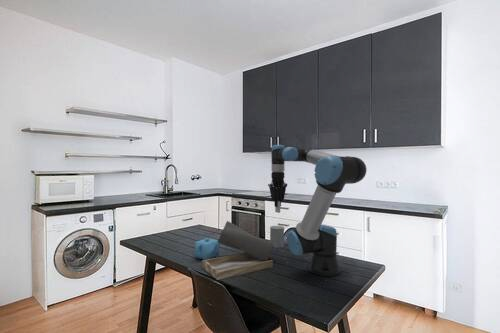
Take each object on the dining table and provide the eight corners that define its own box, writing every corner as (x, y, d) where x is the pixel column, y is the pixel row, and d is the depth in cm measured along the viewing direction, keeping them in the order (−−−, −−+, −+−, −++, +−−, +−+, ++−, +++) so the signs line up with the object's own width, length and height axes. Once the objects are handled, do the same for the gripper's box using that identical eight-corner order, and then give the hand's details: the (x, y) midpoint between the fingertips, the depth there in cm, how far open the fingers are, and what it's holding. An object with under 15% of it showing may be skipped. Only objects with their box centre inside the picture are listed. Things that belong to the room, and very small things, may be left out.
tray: (273, 267, 144) (273, 259, 144) (217, 280, 126) (217, 271, 126) (253, 256, 160) (253, 249, 160) (202, 267, 143) (202, 259, 143)
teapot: (206, 251, 168) (206, 233, 168) (228, 257, 158) (228, 238, 158) (186, 258, 155) (186, 239, 155) (208, 265, 145) (209, 244, 145)
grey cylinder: (283, 247, 178) (283, 229, 178) (269, 246, 179) (269, 228, 179) (284, 243, 187) (284, 226, 187) (270, 243, 189) (271, 225, 189)
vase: (276, 238, 155) (228, 217, 156) (271, 256, 146) (220, 233, 147) (269, 249, 163) (224, 229, 164) (264, 267, 154) (216, 245, 155)
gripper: (282, 171, 164) (282, 210, 163) (265, 171, 156) (264, 212, 156) (290, 171, 157) (290, 212, 157) (273, 171, 150) (273, 214, 150)
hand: (277, 212), depth 157 cm, fingers closed
